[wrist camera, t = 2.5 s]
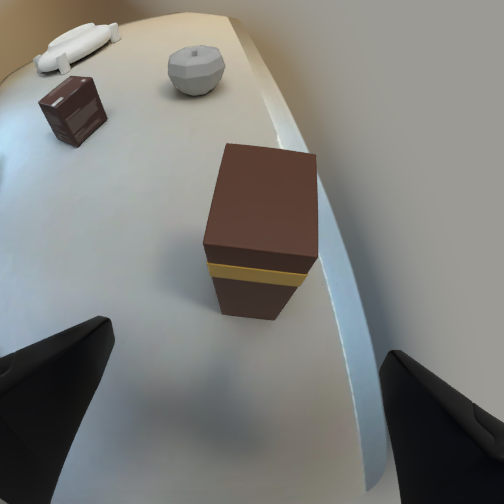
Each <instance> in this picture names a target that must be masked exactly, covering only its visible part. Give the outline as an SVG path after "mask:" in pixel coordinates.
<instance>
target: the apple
mask: <svg viewBox="0 0 504 504" xmlns="http://www.w3.org/2000/svg"><path fill="white" fill-rule="evenodd" d="M224 69H225V63H224V61H223V58H222V55H221V53H220V51H219V49H218V48H216V47H210V46H204V45H200V46H193V47H186V48H183V49H181V50H179V51H177V52H175V53H173V54H171V55H170V57H169V62H168V76H169V77H170V79H171V81H172V82H173V84H174V86H176V87H177V88H178V89H179V90H180V91H181V92H183V93H186V94H189V95H193V96H196V95H202V94H206V93H207V92H208V91H210V90H211V89H213V88H214V87H215V86H216V85H217V84H218V82H219V81H220V80H221V78H222V75H223V72H224Z"/></svg>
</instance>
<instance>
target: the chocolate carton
mask: <svg viewBox="0 0 504 504" xmlns="http://www.w3.org/2000/svg"><path fill="white" fill-rule="evenodd" d="M203 245H204V249H205V253H206V257H207V266H208V269H209V273H210V276H212V280H213V283H214V287H215V291H216V294H217V298H218V301H219V305H220V308H221V312H222V314H225V315H232V316H240V317H249V318H257V319H267V320H275V319H276V318H277V316H278V315H279V313H280V312H281V311H282V309H283V308H284V306H285V305H286V304H287V302H288V301H289V299H290V298H291V296H292V295H293V294H294V292H295V291H296V289H297V288H298V287H299V286H301V284H302V283H303V281H304V280H305V278H306V277H307V275H308V272H309V270H310V269H311V267H312V266H313V264H314V263H315V261H316V260H317V258H318V193H317V168H316V155H315V154H309V153H303V152H297V151H290V150H283V149H276V148H268V147H259V146H250V145H240V144H229V143H227V144H226V146H225V150H224V154H223V158H222V162H221V166H220V170H219V174H218V178H217V182H216V186H215V190H214V195H213V199H212V203H211V208H210V212H209V217H208V221H207V226H206V231H205V235H204V240H203Z"/></svg>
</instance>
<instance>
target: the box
mask: <svg viewBox="0 0 504 504" xmlns="http://www.w3.org/2000/svg"><path fill="white" fill-rule="evenodd" d="M38 103H39V105H40V107H41V109H42V111H43V113H44V115H45V117H46V119H47V121H48V123H49V125H50V126H51V128H52V130H53V132H54V134H55V136H56V137H57V138H58V139H59V140H61V141H64V142H66V143H68V144H70V145H73V146H74V147H78V146H79V145H80V144H81V143H82V142H83V141H84V140H85V139H86V138H87V137H88V136H89V135H90V134H91V133H92V132H93V131H94V130H95V129H96V128H98V127H99V126H100V125H101V124H102V123H103V122H104V121H105V120H107V116H106V113H105V111H104V108H103V105H102V103H101V100H100V98H99V95H98V92H97V89H96V86H95V84H94V81H93V78H91V77H79V76H70V77H69V78H67V79H66V80H65V81H63V82H62V83H61V84H59V85H58V86H57V87H56V88H54V89H53V90H52V91H51V92H49V93H48V94H47V95H46V96H45V97H44V98H42V99H41V100H40V101H39V102H38Z"/></svg>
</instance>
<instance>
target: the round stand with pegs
mask: <svg viewBox="0 0 504 504" xmlns="http://www.w3.org/2000/svg"><path fill="white" fill-rule="evenodd" d="M109 39H110V41H111V43H114V42H117V41H119V40H120V35H119V30H118V25H117V23H113V24H110V25H98V26H95V25H94V23H89V24H85V25H82V26H79V27H77V28H75V29H72V30H70V31H68V32H66V33H64V34H63V35H61V36H59V37H58V38H56V39H55V40H53V41H52V42H51V43H50V44H49V46H48V50H47V51H46V52H45V53H44V54H43V55H41V54H40V55H38V56H36V57H35V58H34V59H33V61H34V63H35V66H36V68H37V70H38V73H39V74H40V73H42V72H49V71H53V70H56V69H59V70H60V72H61V75H64V74H66V73H68V72H69V71H70V70H71V67H70V65H69V64H71V63H73V62H75V61H77V60H79V59H81V58H83V57H85V56H86V55H88V54H90V53H92V52H93V51H95V50H96V49H98V48H100V47H101V46H102V45H104V44H105V43H106V42H107V41H108V40H109Z"/></svg>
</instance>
